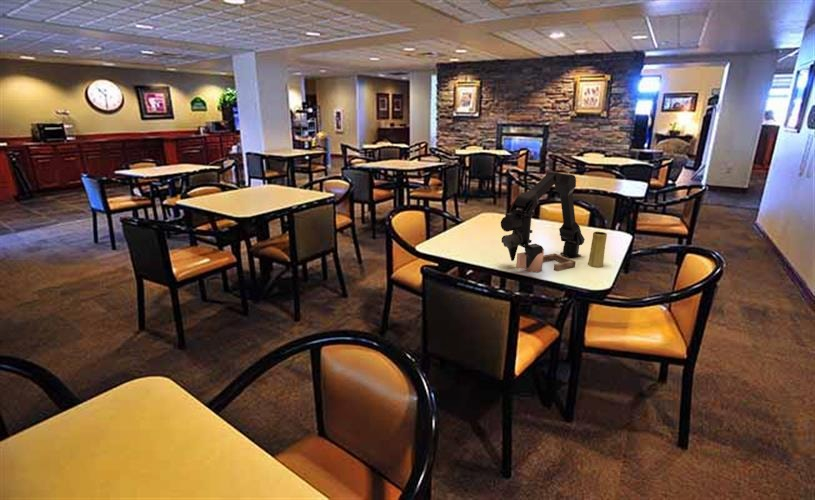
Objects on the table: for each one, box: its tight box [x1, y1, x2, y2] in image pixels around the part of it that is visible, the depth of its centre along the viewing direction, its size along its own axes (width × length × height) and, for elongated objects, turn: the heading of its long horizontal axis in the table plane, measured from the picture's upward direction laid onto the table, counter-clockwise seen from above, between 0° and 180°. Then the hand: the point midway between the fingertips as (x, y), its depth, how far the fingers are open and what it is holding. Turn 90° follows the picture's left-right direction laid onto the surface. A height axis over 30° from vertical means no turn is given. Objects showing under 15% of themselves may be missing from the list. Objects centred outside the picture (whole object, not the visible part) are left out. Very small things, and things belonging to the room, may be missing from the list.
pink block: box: [515, 248, 545, 273], centre depth 179 cm, size 12×7×9 cm, turn 116°
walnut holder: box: [543, 253, 576, 272], centre depth 186 cm, size 10×12×2 cm
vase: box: [587, 231, 608, 268], centre depth 184 cm, size 6×6×14 cm
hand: (519, 264), depth 177 cm, fingers open, 9 cm apart
